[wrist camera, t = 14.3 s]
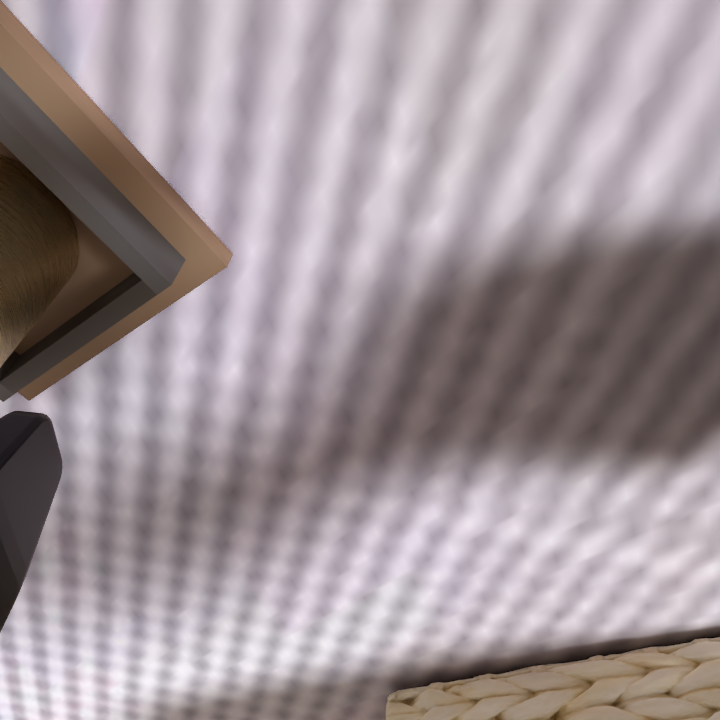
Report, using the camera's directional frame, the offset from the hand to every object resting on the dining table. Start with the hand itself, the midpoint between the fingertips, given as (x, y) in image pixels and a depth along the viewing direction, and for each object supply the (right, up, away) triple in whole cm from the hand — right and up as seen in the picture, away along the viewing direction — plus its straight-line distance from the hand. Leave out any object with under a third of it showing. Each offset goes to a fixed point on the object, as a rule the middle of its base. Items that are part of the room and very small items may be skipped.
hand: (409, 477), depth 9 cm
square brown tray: (-12, +6, +13) cm, 18 cm away
